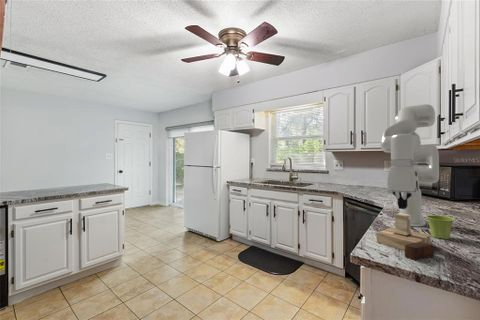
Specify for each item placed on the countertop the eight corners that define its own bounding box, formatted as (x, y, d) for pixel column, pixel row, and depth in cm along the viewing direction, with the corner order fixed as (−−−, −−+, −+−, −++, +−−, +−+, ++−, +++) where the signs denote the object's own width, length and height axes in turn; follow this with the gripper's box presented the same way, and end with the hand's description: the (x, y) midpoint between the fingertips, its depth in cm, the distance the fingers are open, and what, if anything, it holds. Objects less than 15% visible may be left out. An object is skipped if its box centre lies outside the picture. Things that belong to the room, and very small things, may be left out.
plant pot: (420, 234, 104) (420, 215, 104) (437, 232, 106) (437, 214, 106) (443, 241, 95) (442, 221, 95) (460, 239, 97) (460, 219, 97)
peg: (399, 241, 96) (399, 213, 96) (410, 244, 93) (410, 215, 93) (395, 243, 94) (394, 214, 94) (406, 246, 91) (406, 216, 91)
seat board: (392, 235, 103) (391, 227, 103) (430, 245, 91) (430, 235, 91) (376, 242, 95) (376, 232, 95) (416, 253, 84) (416, 242, 84)
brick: (416, 262, 77) (416, 248, 77) (404, 257, 81) (404, 244, 81) (435, 256, 81) (435, 243, 81) (422, 252, 85) (422, 240, 85)
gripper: (427, 164, 89) (428, 210, 89) (386, 163, 101) (386, 204, 101) (420, 164, 85) (421, 213, 85) (378, 164, 97) (378, 206, 97)
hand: (402, 208), depth 93 cm, fingers closed
